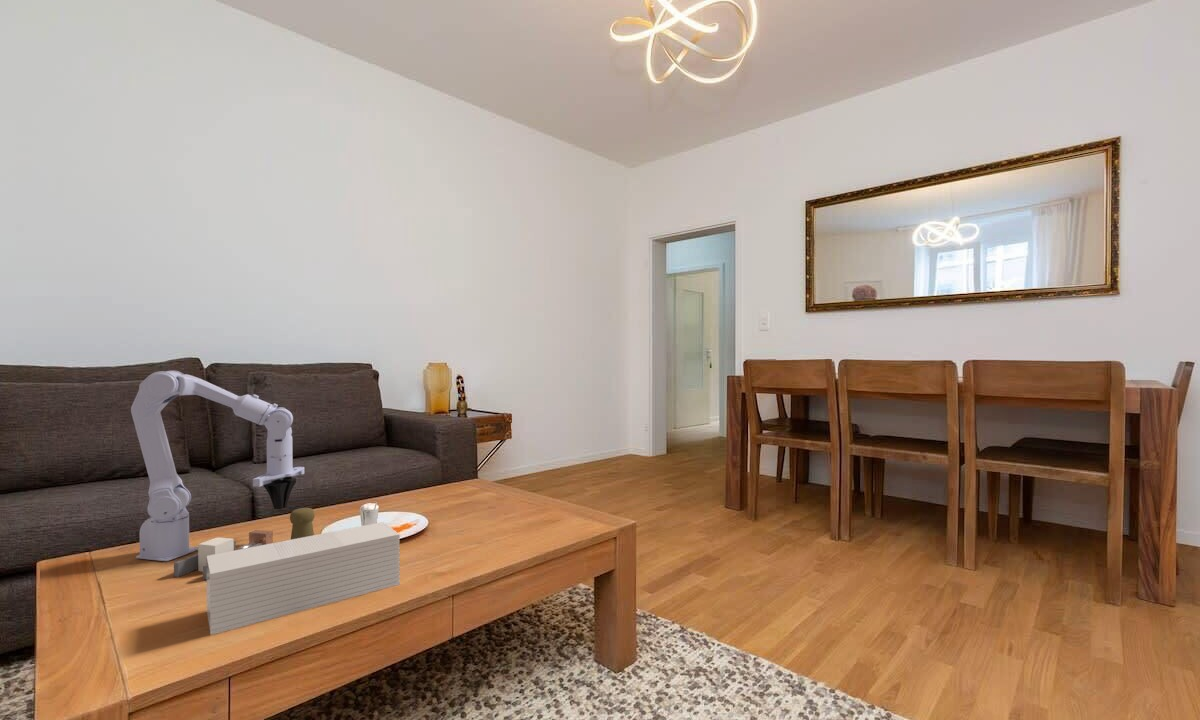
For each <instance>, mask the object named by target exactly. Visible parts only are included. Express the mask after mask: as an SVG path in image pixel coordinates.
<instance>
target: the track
mask: <svg viewBox="0 0 1200 720" xmlns="http://www.w3.org/2000/svg"><path fill="white" fill-rule="evenodd" d="M236 544H237V542H236V540H234V547H235V548H237V547H236V546H237V545H236ZM261 545H263V544H261V543H258V544H255V545H253V546H250V547H255V546H261ZM250 547H248V548H250ZM197 570H198V553H196V554H192V555H191V556H187V557H184V558H183V559H180V560H177V561H175V562H173V577H175V578H179V577H182V576H184V575H187V574H190V573H192V572H194V571H197ZM202 580H203V581H207V566H206V565H204V566H203V571H202Z"/></svg>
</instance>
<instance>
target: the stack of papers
mask: <svg viewBox="0 0 1200 720" xmlns="http://www.w3.org/2000/svg"><path fill="white" fill-rule="evenodd" d="M400 536H401V535H400V533H398V532H397V531H396V530H394V528H392V527H391V526H389V525H388V524H387V523H385V522H384V521H382V522H377V523H375V524H370V525H365V526H362V525H360V526H355V527H350V528H344V529H341V530H334V531H329V532H325V533H319V534H314V535H313V536H308V537H302V538H297V539H292V540H291V539H287V540H282V541H277V542H273V543H271V544H266V545H261V546H255V547H250V548H245V549H240V550H235V551H229V552H224V553H219V554H214V555H209V556H206V561H207V562H206V566H207V580H206V614H207V622H208V628H209V634H210V636H213V635H216V634H219V633H223V632H224V633H225V632H227V631H231V630H235V629H238V628H243V627H246V626H250V625H253V624H258V623H261V622H265V621H268V620H272V619H275V618H279V617H283V616H287V615H291V614H295V613H298V612H301V611H306V610H310V609H314V608H317V607H321V606H325V605H329V604H331V603H336V602H339V601H344V600H346V599H349V598H350V599H351V598H354V597H358V596H361V595H362V596H363V595H365V594H370V593H373V592H376V591H381V590H384V589H388V588H391V587H395V586H400V585H401V581H400V580H401V576H400V575H401V573H400V572H401V568H400V567H401V565H400V563H401V561H400V560H401V558H400V556H401V554H400V552H401V551H400V543H401V542H400Z"/></svg>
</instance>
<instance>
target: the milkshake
mask: <svg viewBox="0 0 1200 720" xmlns="http://www.w3.org/2000/svg"><path fill="white" fill-rule="evenodd" d="M379 510H380V508H379V505H378V501H376V502H374V503H372V502H367V503H365V504H362V505H361V506H360V507H359V515H360V522H361V523H360V524H361V525H360V526H365V525H370V524H375V523H378V517H379Z"/></svg>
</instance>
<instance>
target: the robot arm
mask: <svg viewBox="0 0 1200 720" xmlns="http://www.w3.org/2000/svg"><path fill="white" fill-rule="evenodd" d="M195 395H196V396H199V397H202V398H205V399H208V400H210V401H211V402H212V401H213V402H215V403H218V404H221V405H223V406H226V407H229V408H231V409H232V411H233V414H234V415H235V416H236V417H240V418H242V419H244V420H246V421H249V422H251V423H254V424H257V425H259V426H262V425H263V426H264V427H265V428H266V430H267V438H266V473H263V474H261V475H260V476H257V477H255V478H252V487H259V488H260V487H263V488H264V489H265V490H266V491H267V493H268V495H269V497H270V500H271V504H272V506H273V509H274V510H283V509H285V508H287V505H288V501H289V498H290V495H291V492H292V491H293V488H294V486H295V485H296V483H297V478H295V476H299V475H300V476H301V475H305V466H296V467H295V466H293V461H294V460H293V457H294V456H293V435H292V434H293V429H292V424H293V423H294V422H293V421H294V416H293V414H292V412H291V410H288V409H286V407H284V406H283V407H280V406H279V404H277V403H273V404H271V403H270V402H267V401H265V400H262V399H260V398H259V397H260V395H258V394H255V393H254V394H252V395H251V394H249V393H248V394H247V393H246V394H244V395H237V394H235V393H233V392H231V391H229V390H226V389H224V388H223V387H220V386H217V385H215V384H213V383H210V382H209V381H207V380H204V379H202V378H200V377H196V376H194V375H191V374H188V373H186V374H184V373H183V372H181V371H179V370H173V369H172V370H166V371H163V370H161V371H155V372H153V373H151V374H149V375H148V376H147V377H146V378H145V379H143V380H142V381H141V382H140V383H139V387H138V391H137V394H136V396H135V398H134V400H133V402H132V405H131V407H130V413H131V416H132V420H133V424H134V427H135V431H136V435H137V439H138V441H139V446H140V450H141V453H142V457H143V460H144V464H145V468H146V471H147V475H148V479H149V488H148V492H147V494H148V497H149V501H148V505H147V509H146V510H147V513H148V515H149V518H147V519H145V521H143V523H142V524H141V526H140V529H139V554H138V555H136V556H135V559H141V560H152V561H160V562H169V561H171V560H174V559H178V558H180V557H183V556H186V555H188V554H191V553H194V552H196V551H198V546H197V547H196V546H190V511H188V510H187V506H189V504H190V503H191V499H192V494H191V492H190V491H189V489H188V488H187V487H186V486H184V484H183V479H182V478H181V477H180V475H179V474H178V473H177V470H176V466H175V462H174V459H173V454H172V451H171V447H170V444H169V439H168V436H167V433H166V429H165V425H164V422H163V418H162V417H163V416H162V414H161V412H162V411H163V410H164V408H165V407H166V406H167V405H168V404H169V403H170V402H171V401H172V400H173V399H175V398H177V397H179V396H195ZM278 406H279V407H278Z"/></svg>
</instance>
